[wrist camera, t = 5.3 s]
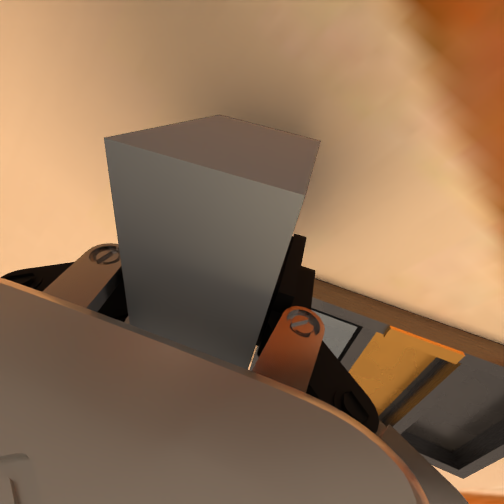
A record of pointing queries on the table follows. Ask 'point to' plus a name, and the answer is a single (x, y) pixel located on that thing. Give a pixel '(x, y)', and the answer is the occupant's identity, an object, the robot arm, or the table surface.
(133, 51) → the table surface
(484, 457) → the gray divided tray
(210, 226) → the gray rectangular block
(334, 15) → the table surface
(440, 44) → the table surface
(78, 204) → the table surface
